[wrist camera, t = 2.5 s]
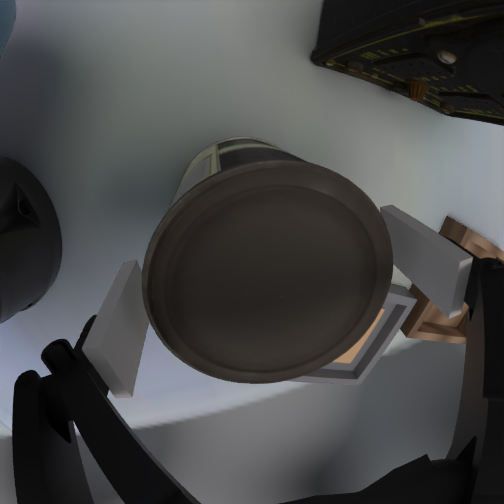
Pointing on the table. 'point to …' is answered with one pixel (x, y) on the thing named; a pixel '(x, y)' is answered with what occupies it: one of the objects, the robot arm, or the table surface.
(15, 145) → the table surface
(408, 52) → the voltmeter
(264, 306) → the coffee can
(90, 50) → the table surface
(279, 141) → the table surface
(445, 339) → the walnut tray
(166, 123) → the table surface
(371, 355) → the checker cradle
